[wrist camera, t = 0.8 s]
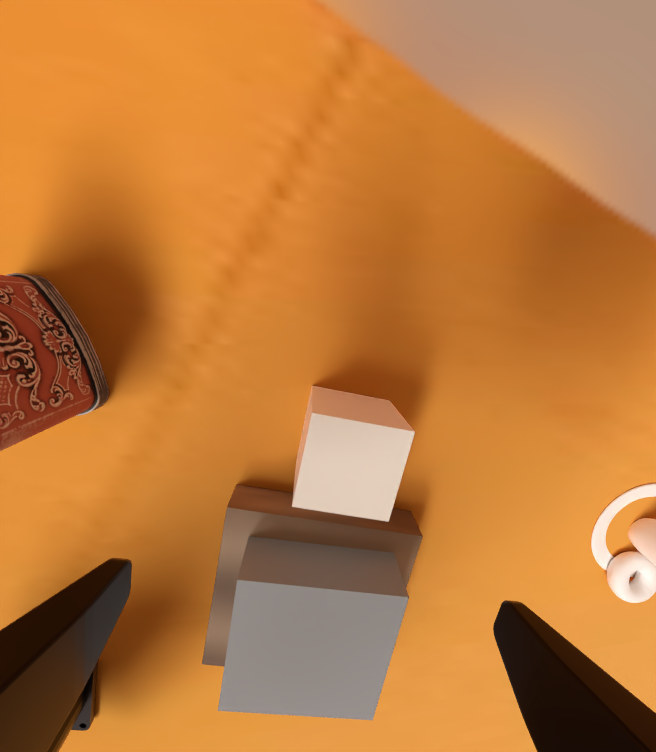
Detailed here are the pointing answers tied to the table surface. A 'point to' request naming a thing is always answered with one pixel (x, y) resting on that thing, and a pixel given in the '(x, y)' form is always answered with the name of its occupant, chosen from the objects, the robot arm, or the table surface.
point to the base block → (283, 522)
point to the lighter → (43, 360)
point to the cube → (351, 455)
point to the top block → (311, 629)
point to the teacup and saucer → (648, 566)
